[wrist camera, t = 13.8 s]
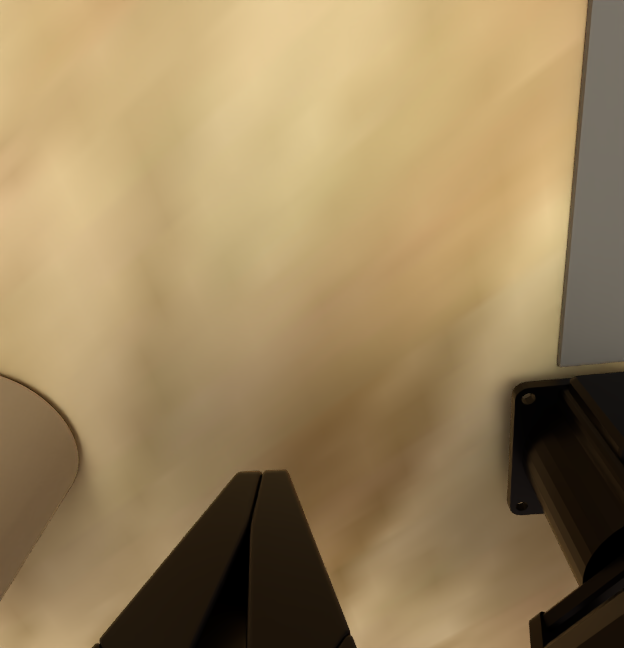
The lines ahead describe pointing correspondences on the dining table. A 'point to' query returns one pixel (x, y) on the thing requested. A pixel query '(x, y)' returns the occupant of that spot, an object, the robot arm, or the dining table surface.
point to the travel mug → (29, 472)
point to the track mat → (597, 200)
